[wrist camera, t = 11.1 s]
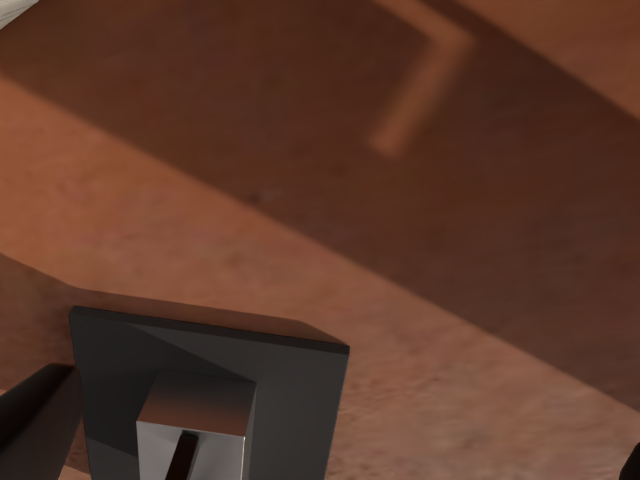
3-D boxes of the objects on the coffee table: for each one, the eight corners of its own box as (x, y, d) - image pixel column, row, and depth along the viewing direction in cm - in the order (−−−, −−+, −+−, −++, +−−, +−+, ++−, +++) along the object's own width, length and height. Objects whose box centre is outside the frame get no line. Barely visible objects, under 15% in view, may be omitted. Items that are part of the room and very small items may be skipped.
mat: (316, 510, 31) (316, 521, 31) (96, 478, 31) (92, 488, 31) (350, 345, 25) (349, 354, 24) (74, 305, 25) (67, 314, 24)
